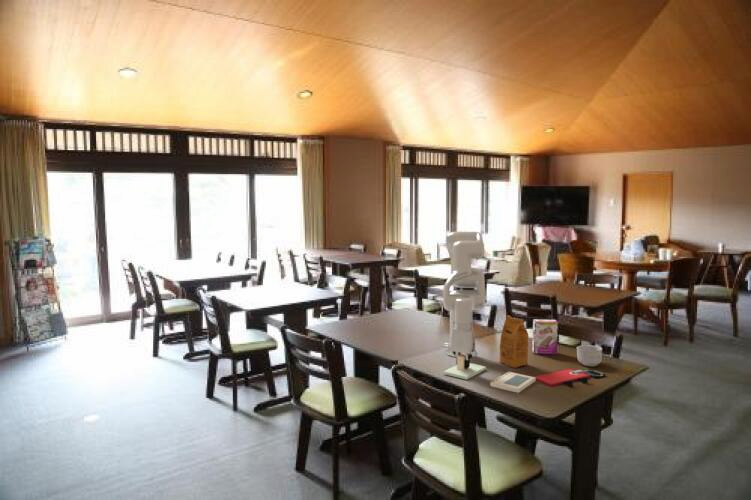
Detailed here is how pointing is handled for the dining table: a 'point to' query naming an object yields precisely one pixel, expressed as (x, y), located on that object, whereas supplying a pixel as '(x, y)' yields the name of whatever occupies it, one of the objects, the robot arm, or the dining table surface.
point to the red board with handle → (567, 377)
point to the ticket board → (513, 382)
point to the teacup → (589, 355)
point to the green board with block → (461, 371)
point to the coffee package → (514, 343)
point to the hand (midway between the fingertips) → (463, 366)
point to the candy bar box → (545, 336)
